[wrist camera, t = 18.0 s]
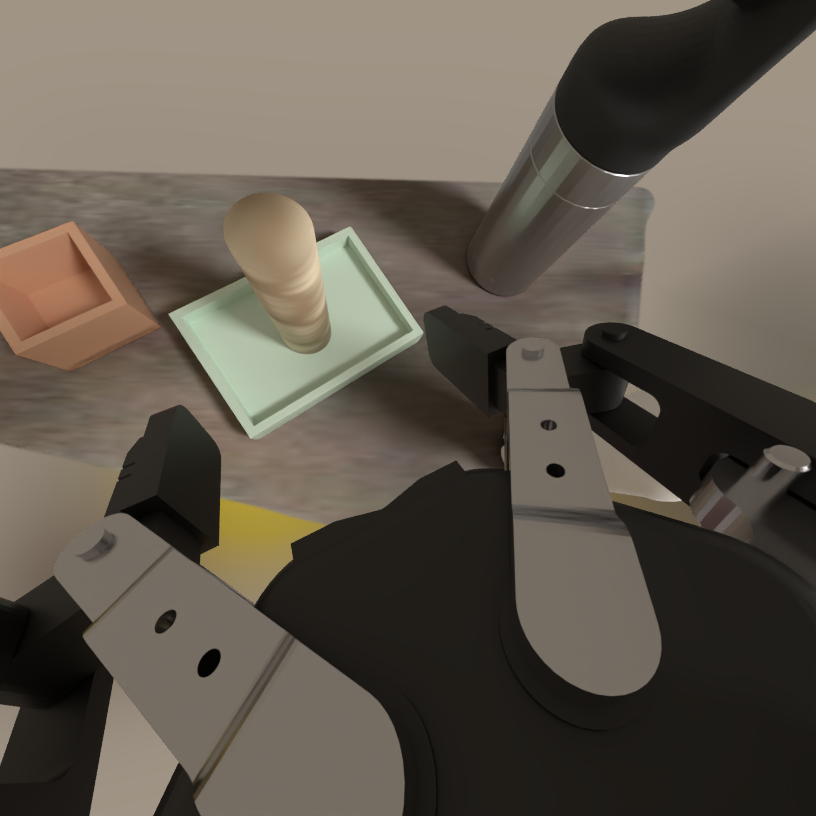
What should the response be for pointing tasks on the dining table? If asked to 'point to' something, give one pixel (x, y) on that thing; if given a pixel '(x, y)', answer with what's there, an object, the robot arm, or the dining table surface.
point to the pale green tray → (281, 366)
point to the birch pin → (281, 266)
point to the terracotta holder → (68, 299)
